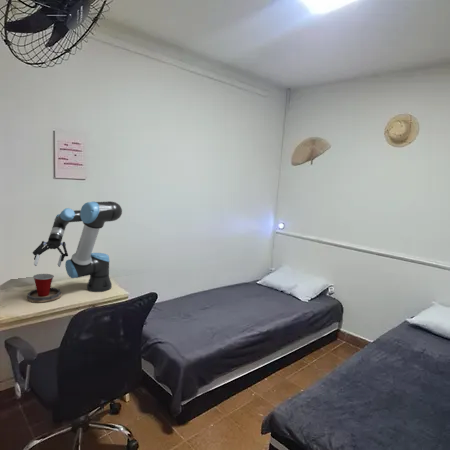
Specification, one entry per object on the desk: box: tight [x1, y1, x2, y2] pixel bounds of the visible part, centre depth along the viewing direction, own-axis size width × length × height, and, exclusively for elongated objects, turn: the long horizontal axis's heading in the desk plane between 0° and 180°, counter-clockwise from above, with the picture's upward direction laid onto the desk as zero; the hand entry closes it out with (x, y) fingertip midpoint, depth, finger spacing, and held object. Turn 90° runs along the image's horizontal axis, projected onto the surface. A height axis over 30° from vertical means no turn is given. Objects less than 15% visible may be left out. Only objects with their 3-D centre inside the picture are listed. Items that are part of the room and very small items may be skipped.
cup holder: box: [26, 287, 63, 304], centre depth 197 cm, size 18×18×3 cm
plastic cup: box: [32, 273, 55, 297], centre depth 197 cm, size 11×11×12 cm
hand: (46, 265), depth 200 cm, fingers open, 13 cm apart
